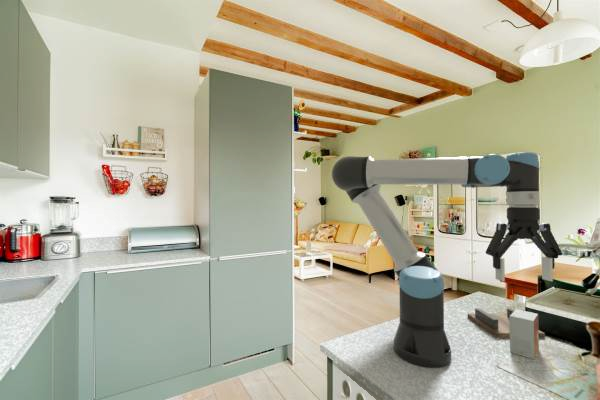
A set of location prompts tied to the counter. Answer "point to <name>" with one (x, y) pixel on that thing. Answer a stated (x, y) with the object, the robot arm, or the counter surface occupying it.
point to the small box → (524, 333)
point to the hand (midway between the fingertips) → (523, 280)
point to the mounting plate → (495, 323)
